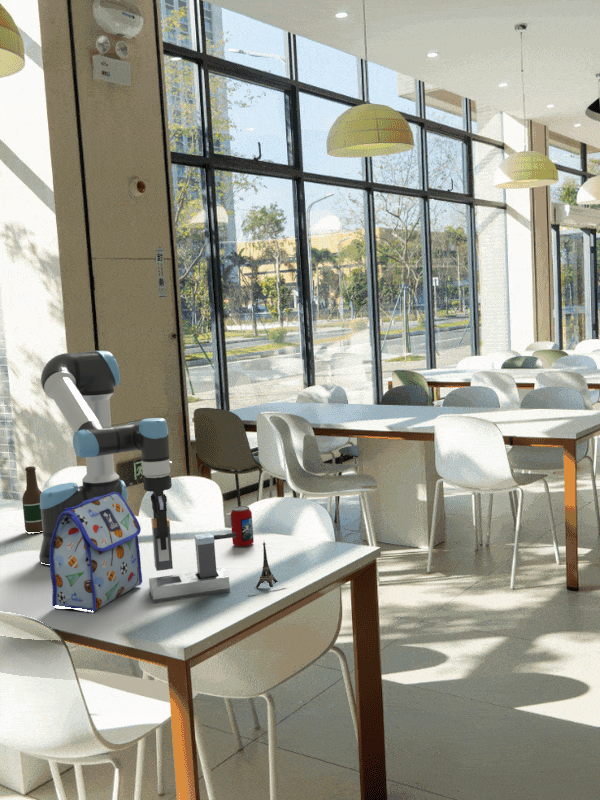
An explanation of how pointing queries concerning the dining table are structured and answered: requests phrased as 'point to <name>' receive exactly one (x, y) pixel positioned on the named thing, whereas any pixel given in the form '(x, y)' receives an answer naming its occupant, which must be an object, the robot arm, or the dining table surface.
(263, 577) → the eiffel tower figurine
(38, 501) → the beer bottle
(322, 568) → the dining table surface
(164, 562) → the plug
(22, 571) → the dining table surface
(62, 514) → the lunch bag
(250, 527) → the beverage can
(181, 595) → the pdu strip
